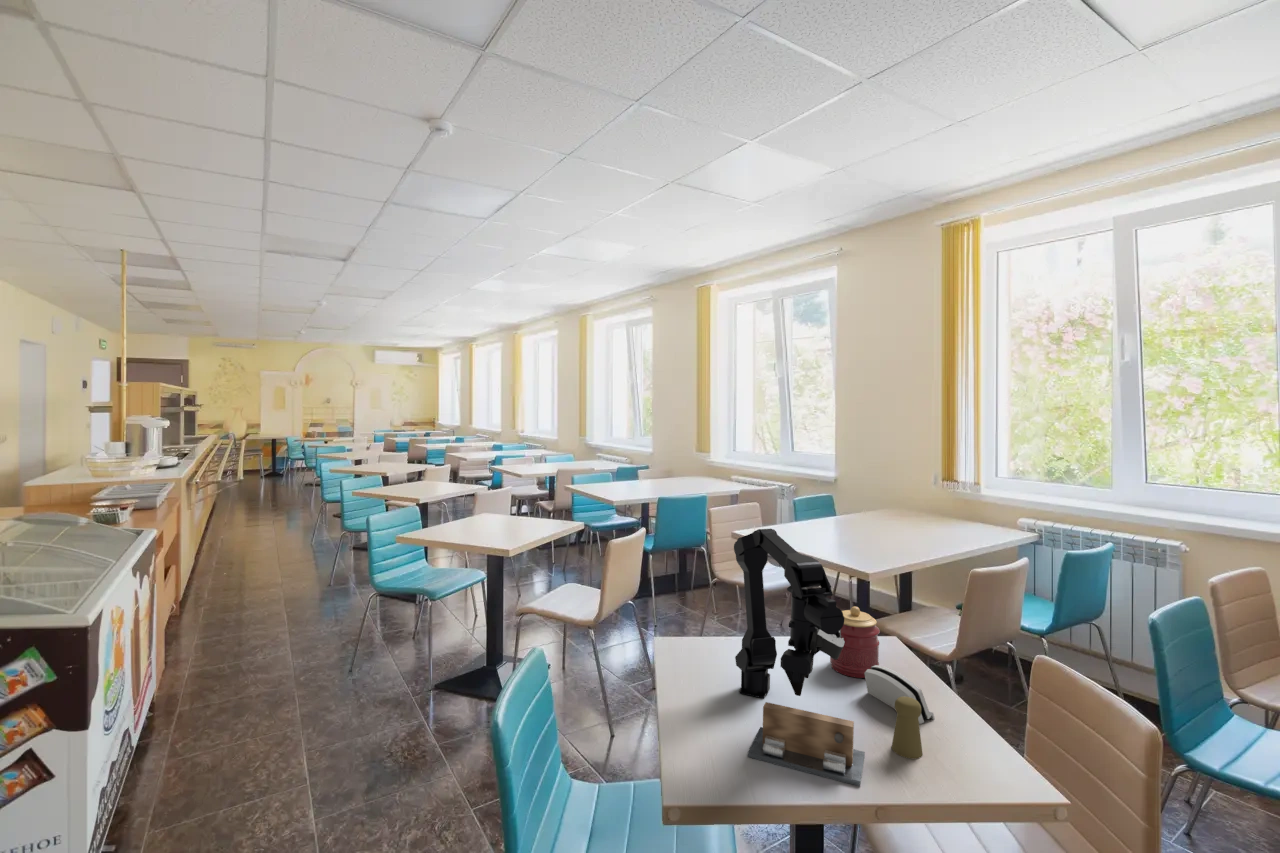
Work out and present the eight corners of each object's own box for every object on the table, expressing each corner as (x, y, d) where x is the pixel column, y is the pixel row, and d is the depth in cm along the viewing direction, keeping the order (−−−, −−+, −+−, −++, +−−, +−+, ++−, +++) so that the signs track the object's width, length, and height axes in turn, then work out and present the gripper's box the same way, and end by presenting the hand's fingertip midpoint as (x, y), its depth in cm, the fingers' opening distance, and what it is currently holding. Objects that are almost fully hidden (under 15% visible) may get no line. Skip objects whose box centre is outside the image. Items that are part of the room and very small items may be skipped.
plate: (747, 756, 122) (748, 740, 122) (760, 731, 132) (760, 715, 132) (860, 786, 113) (860, 768, 112) (864, 756, 122) (864, 740, 122)
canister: (838, 655, 174) (839, 596, 174) (884, 667, 167) (885, 605, 166) (823, 670, 164) (824, 608, 164) (871, 683, 156) (873, 618, 156)
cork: (886, 743, 128) (887, 693, 128) (912, 742, 128) (913, 692, 128) (900, 759, 122) (902, 706, 122) (928, 758, 122) (929, 706, 122)
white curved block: (936, 720, 138) (926, 682, 136) (922, 730, 136) (912, 692, 135) (881, 688, 153) (872, 655, 152) (868, 698, 152) (859, 664, 150)
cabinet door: (761, 746, 124) (761, 709, 124) (765, 738, 127) (765, 701, 127) (851, 769, 116) (852, 729, 116) (852, 760, 119) (853, 721, 119)
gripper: (836, 639, 118) (834, 715, 118) (847, 610, 134) (845, 677, 135) (781, 628, 123) (778, 701, 123) (798, 602, 139) (796, 666, 140)
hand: (802, 686), depth 130 cm, fingers open, 9 cm apart
